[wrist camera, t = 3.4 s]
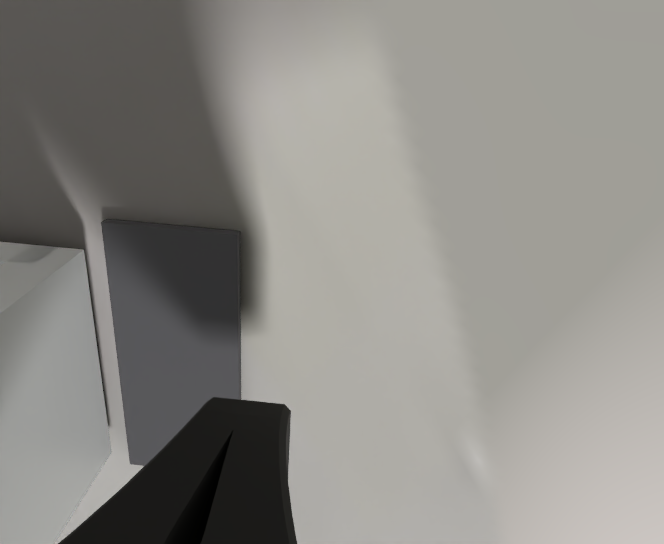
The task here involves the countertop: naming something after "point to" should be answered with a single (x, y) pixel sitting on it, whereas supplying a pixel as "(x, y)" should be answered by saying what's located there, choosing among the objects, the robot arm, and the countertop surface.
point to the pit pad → (172, 324)
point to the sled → (47, 391)
